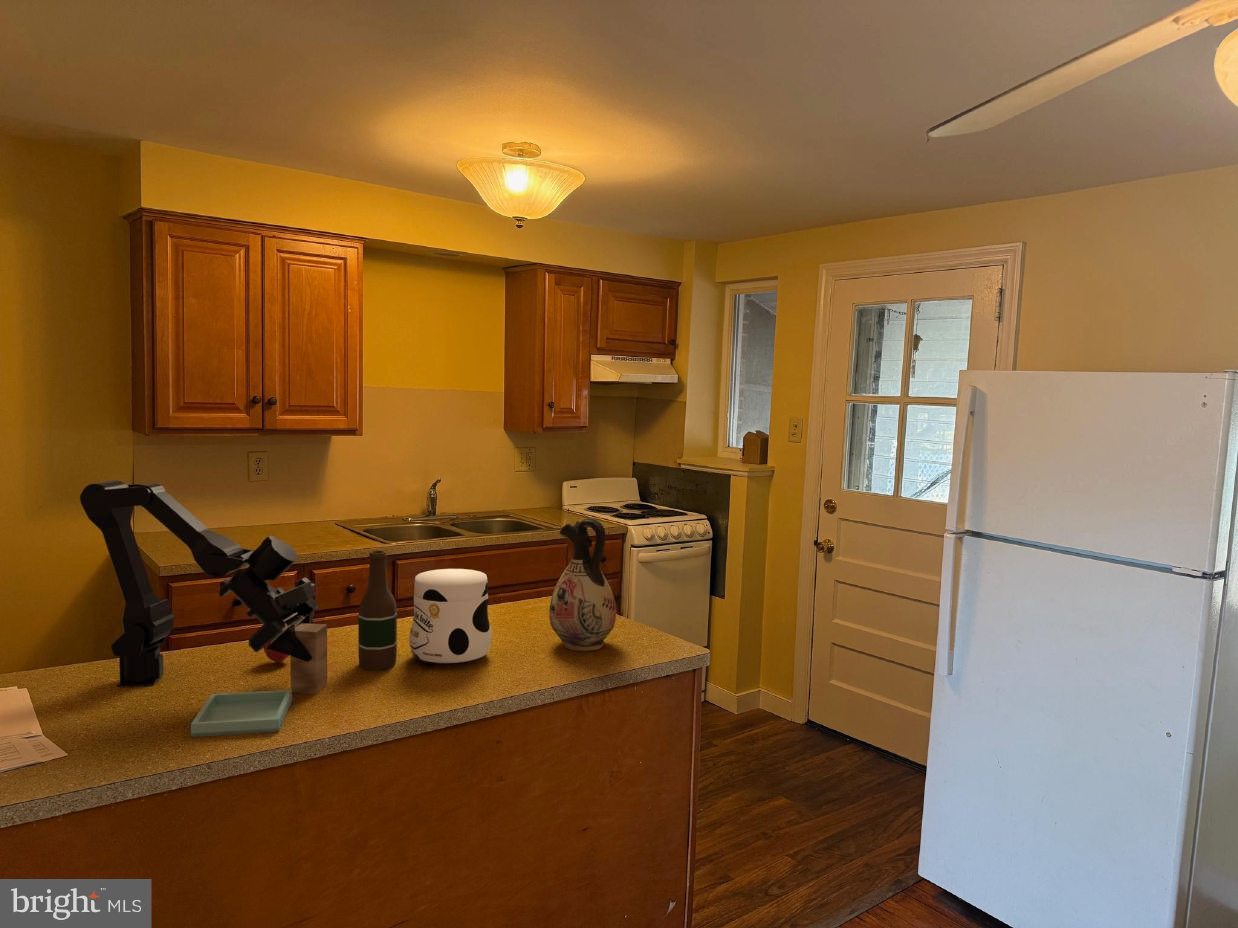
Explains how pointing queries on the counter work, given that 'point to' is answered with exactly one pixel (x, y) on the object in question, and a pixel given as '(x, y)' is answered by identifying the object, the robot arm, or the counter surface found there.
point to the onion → (274, 654)
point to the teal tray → (242, 713)
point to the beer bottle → (377, 619)
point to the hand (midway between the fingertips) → (316, 655)
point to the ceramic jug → (583, 593)
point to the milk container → (450, 617)
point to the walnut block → (314, 672)
